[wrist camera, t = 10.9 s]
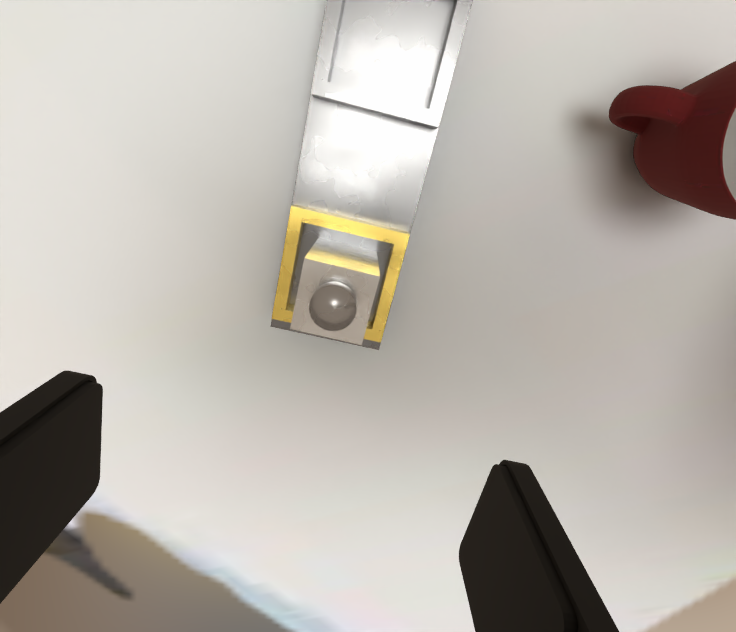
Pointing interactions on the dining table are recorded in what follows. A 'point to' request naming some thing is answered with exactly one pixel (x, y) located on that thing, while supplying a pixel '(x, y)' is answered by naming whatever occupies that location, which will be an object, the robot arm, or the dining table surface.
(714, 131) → the mug
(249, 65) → the dining table surface
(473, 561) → the robot arm
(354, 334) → the knobbed metal block
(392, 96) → the grey flat elongated piece
